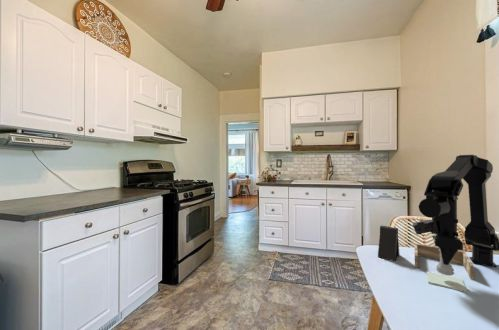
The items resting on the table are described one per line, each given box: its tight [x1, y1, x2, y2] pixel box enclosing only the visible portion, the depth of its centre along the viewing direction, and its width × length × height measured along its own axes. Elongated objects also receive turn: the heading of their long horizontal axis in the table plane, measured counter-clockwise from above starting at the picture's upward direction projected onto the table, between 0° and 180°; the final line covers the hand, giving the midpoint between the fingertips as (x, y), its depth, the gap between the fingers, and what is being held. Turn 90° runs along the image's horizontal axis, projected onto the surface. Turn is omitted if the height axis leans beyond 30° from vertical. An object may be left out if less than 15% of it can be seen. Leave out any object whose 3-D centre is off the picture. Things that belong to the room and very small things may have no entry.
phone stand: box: [377, 225, 400, 262], centre depth 94 cm, size 9×6×12 cm, turn 136°
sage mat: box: [426, 271, 468, 293], centre depth 73 cm, size 9×9×1 cm
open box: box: [414, 243, 475, 280], centre depth 85 cm, size 16×16×4 cm
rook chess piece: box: [435, 249, 455, 277], centre depth 73 cm, size 4×4×8 cm
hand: (445, 262), depth 73 cm, fingers closed on rook chess piece, 3 cm apart
